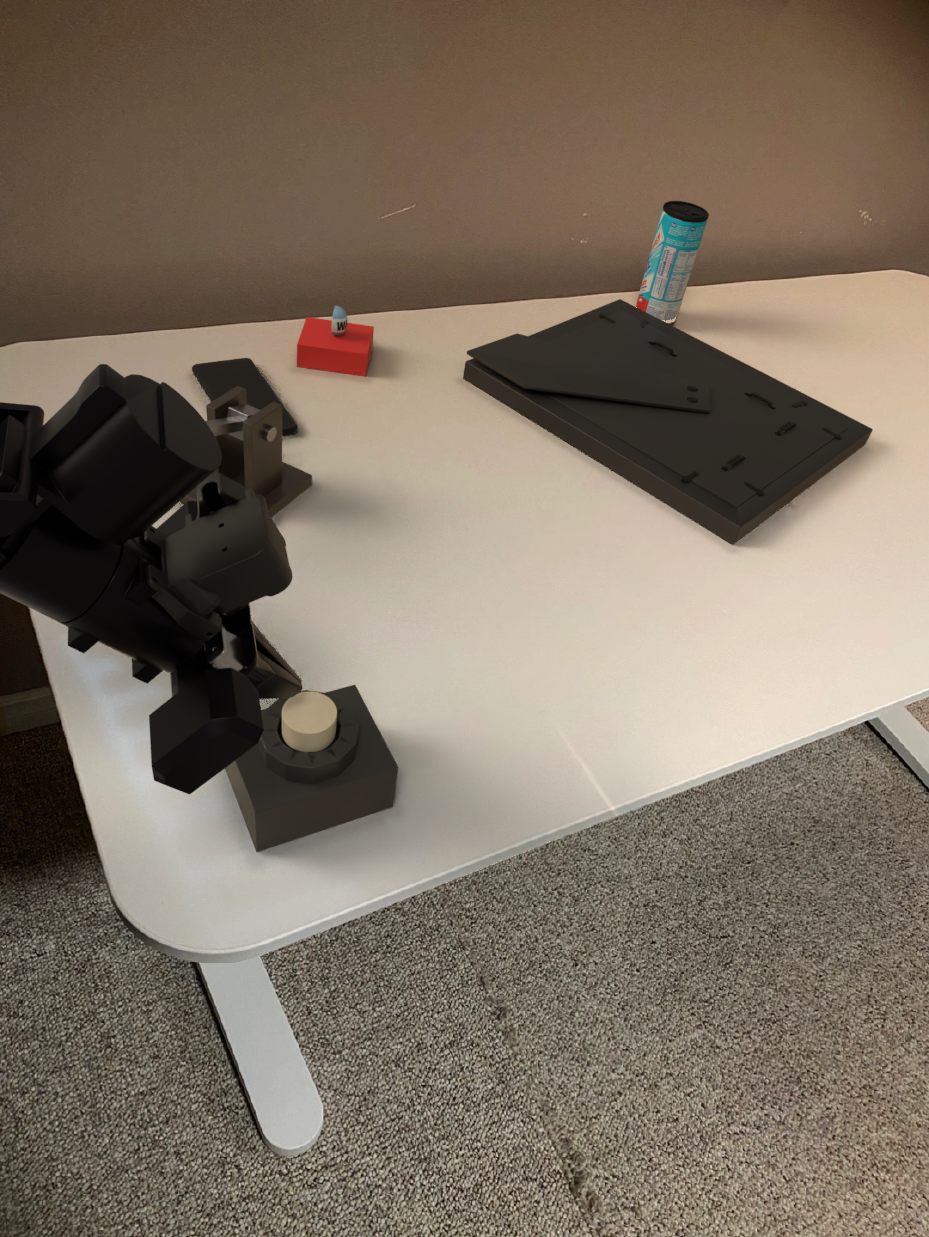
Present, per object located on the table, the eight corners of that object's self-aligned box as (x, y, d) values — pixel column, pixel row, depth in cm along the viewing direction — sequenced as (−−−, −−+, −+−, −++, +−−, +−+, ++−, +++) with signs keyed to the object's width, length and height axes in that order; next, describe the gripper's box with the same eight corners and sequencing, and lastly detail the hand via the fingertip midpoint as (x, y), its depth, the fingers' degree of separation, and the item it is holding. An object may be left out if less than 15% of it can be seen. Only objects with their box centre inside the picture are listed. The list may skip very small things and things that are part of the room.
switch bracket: (248, 536, 85) (245, 446, 78) (179, 502, 87) (170, 412, 80) (312, 484, 92) (314, 398, 85) (246, 454, 94) (243, 368, 87)
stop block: (256, 852, 62) (254, 796, 58) (222, 761, 67) (218, 703, 63) (393, 807, 66) (401, 751, 62) (352, 724, 71) (356, 667, 67)
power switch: (169, 464, 74) (175, 426, 73) (138, 449, 75) (144, 411, 74) (265, 443, 85) (272, 410, 84) (237, 430, 86) (243, 397, 85)
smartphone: (250, 356, 106) (300, 427, 97) (250, 363, 106) (299, 433, 98) (189, 363, 103) (235, 437, 94) (190, 370, 103) (235, 444, 95)
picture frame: (462, 378, 110) (732, 545, 94) (466, 350, 108) (744, 517, 92) (615, 314, 128) (864, 445, 112) (622, 289, 126) (878, 419, 109)
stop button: (292, 759, 61) (292, 739, 59) (274, 718, 63) (274, 699, 62) (343, 743, 62) (345, 724, 61) (324, 705, 64) (325, 685, 63)
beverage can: (657, 307, 132) (689, 199, 122) (683, 327, 128) (718, 217, 118) (624, 312, 129) (654, 202, 119) (650, 332, 126) (682, 221, 116)
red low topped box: (372, 348, 113) (375, 298, 108) (365, 376, 108) (369, 325, 103) (306, 338, 112) (307, 288, 108) (296, 366, 107) (297, 315, 103)
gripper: (208, 609, 40) (428, 736, 51) (181, 381, 52) (362, 521, 63) (42, 746, 43) (282, 838, 54) (54, 500, 56) (247, 614, 66)
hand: (297, 689), depth 59 cm, fingers closed
